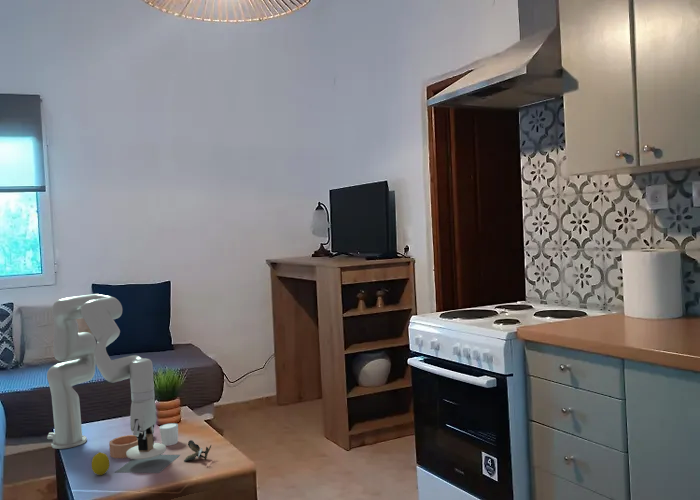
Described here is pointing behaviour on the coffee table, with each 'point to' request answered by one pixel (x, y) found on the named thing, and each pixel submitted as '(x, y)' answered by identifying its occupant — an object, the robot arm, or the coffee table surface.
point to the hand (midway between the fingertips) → (146, 447)
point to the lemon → (100, 463)
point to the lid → (151, 452)
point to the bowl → (122, 445)
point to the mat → (148, 464)
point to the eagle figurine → (196, 451)
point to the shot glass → (169, 434)
